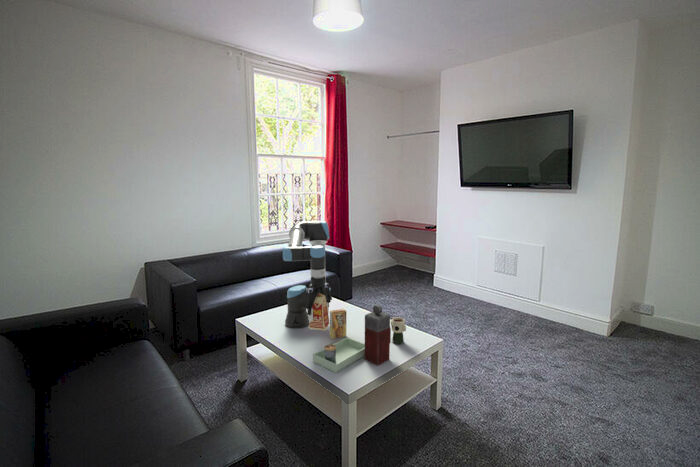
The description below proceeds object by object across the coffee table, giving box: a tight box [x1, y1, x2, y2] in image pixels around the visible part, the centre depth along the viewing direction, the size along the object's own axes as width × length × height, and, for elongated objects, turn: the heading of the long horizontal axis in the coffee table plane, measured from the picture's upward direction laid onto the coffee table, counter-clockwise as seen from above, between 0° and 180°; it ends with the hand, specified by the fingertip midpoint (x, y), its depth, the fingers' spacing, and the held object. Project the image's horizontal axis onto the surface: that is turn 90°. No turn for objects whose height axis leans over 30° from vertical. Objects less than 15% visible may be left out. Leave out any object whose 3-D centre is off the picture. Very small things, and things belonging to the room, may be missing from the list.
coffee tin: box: [324, 343, 336, 364], centre depth 166 cm, size 6×6×8 cm
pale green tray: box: [312, 336, 365, 374], centre depth 173 cm, size 15×25×4 cm, turn 139°
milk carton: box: [308, 293, 330, 331], centre depth 179 cm, size 9×9×20 cm
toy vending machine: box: [364, 304, 392, 366], centre depth 170 cm, size 9×11×28 cm
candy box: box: [329, 308, 347, 340], centre depth 196 cm, size 9×4×15 cm, turn 116°
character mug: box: [390, 316, 407, 345], centre depth 189 cm, size 11×7×13 cm, turn 39°
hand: (318, 317), depth 180 cm, fingers closed on milk carton, 10 cm apart
